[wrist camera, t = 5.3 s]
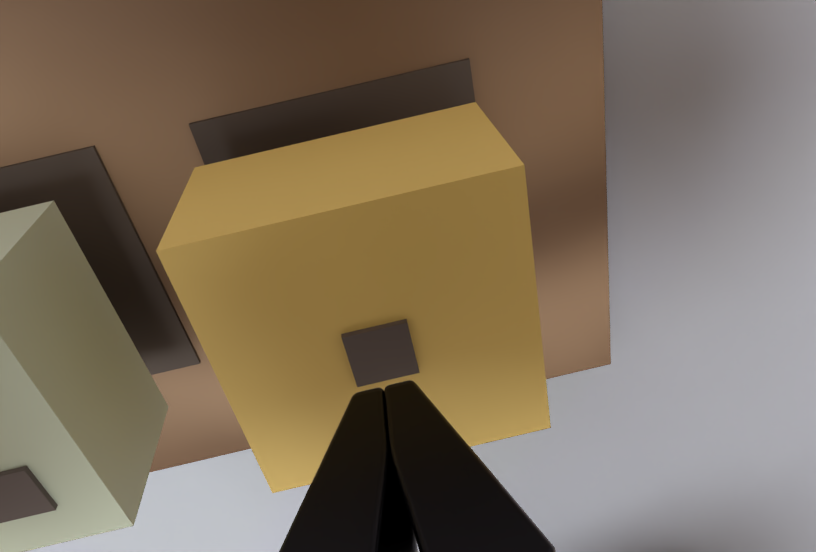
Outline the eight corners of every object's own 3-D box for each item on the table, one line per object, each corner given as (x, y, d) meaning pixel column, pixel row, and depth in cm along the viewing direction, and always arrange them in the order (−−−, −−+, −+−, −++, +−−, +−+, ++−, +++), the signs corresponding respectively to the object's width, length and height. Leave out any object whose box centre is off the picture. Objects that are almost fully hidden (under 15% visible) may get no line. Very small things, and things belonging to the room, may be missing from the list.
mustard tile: (506, 327, 13) (552, 431, 11) (281, 380, 13) (272, 497, 11) (475, 102, 11) (526, 168, 8) (194, 168, 11) (153, 255, 8)
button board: (601, 350, 17) (612, 366, 17) (-307, 563, 17) (-329, 587, 17) (584, -168, 11) (601, -172, 10) (-858, 167, 11) (-928, 183, 10)
